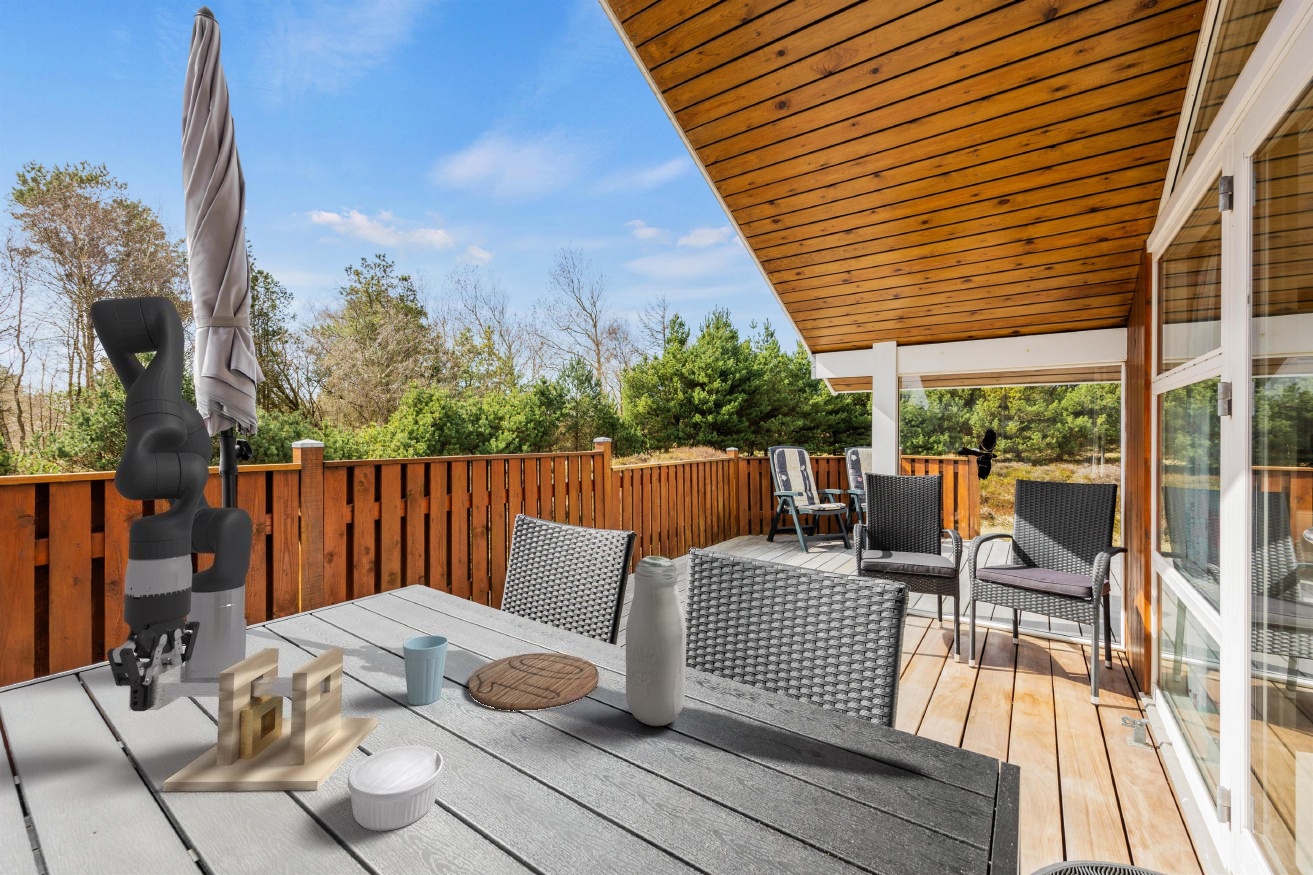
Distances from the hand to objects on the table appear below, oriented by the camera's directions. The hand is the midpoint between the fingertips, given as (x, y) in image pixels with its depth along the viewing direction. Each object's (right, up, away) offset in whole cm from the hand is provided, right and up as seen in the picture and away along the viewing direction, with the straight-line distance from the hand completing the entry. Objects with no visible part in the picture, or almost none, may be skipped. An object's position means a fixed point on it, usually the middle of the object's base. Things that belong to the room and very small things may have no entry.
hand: (154, 702), depth 84 cm
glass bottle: (+74, -9, +13) cm, 76 cm away
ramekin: (+41, -8, -11) cm, 43 cm away
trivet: (+50, -10, +28) cm, 58 cm away
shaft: (+11, 0, +1) cm, 11 cm away
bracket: (+19, -8, +1) cm, 20 cm away
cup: (+32, -9, +20) cm, 39 cm away
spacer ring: (+16, -3, +1) cm, 16 cm away
